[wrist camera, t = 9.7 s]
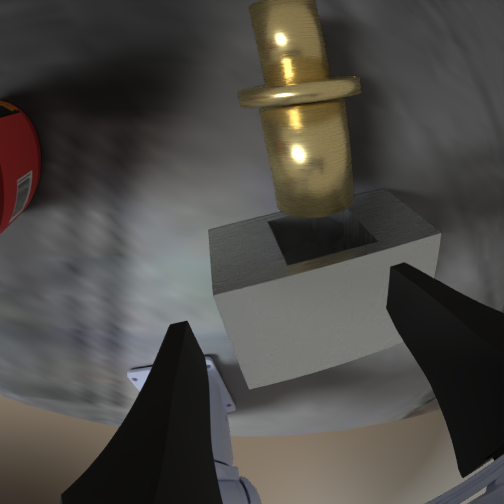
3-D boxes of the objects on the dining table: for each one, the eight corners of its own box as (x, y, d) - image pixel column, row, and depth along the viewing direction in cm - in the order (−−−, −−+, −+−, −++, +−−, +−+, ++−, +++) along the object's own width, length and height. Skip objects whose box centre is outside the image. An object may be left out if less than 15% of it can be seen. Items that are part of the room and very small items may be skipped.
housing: (381, 280, 24) (421, 334, 18) (236, 320, 24) (249, 389, 18) (384, 188, 20) (441, 232, 14) (208, 230, 19) (213, 295, 14)
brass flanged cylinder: (343, 173, 18) (389, 210, 13) (253, 192, 18) (274, 238, 13) (318, 11, 13) (366, -12, 8) (216, 23, 13) (223, -5, 8)
